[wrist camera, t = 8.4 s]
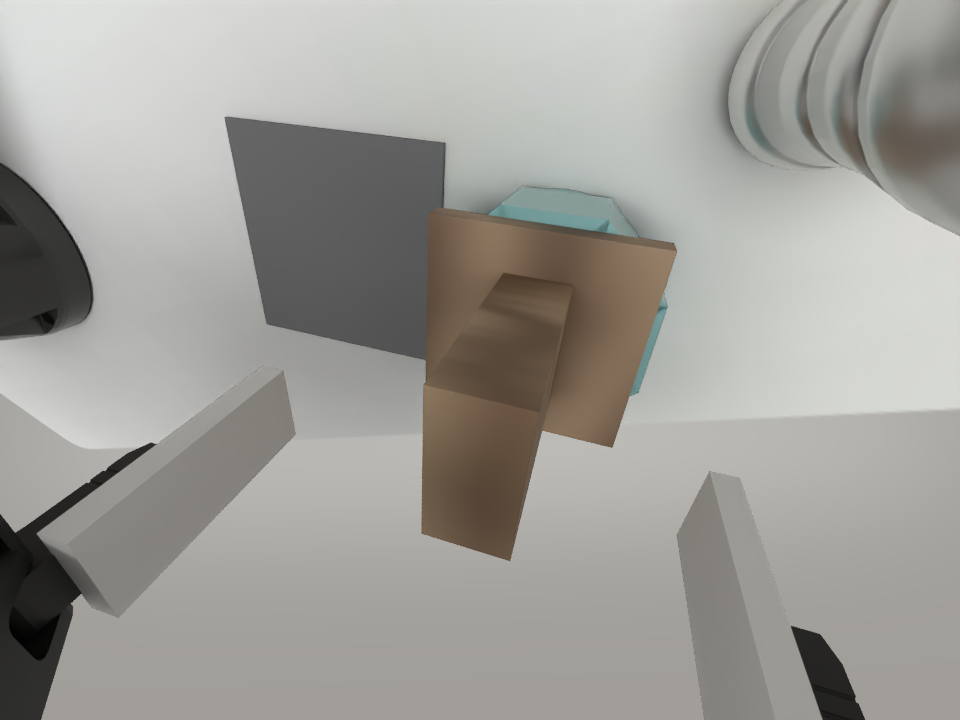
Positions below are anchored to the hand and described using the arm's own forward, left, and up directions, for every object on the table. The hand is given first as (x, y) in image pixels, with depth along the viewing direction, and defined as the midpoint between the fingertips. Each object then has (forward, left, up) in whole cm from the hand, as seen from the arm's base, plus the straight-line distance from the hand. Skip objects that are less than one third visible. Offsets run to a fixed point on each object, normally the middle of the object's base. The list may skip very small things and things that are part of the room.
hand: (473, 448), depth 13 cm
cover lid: (0, 0, -9) cm, 9 cm away
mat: (-14, 0, -15) cm, 20 cm away
